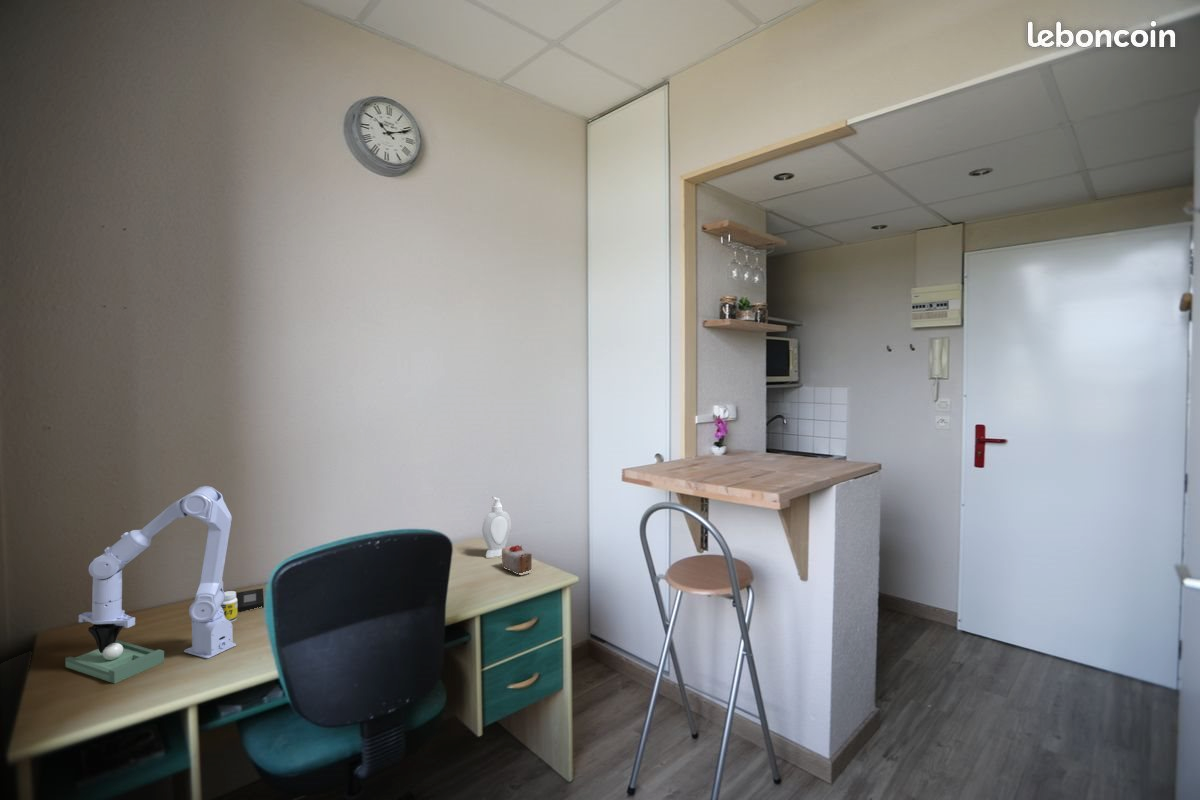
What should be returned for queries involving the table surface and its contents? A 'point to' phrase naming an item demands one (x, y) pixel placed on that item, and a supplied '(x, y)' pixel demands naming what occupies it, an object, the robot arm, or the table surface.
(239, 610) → the vhs tape
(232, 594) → the supplement bottle
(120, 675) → the green tray
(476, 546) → the table surface
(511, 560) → the food item
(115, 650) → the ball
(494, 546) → the soap bottle
